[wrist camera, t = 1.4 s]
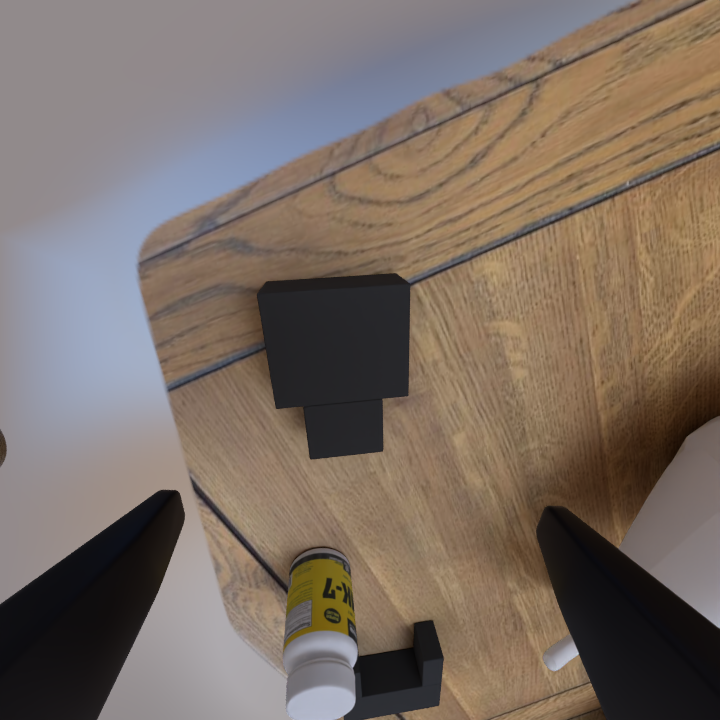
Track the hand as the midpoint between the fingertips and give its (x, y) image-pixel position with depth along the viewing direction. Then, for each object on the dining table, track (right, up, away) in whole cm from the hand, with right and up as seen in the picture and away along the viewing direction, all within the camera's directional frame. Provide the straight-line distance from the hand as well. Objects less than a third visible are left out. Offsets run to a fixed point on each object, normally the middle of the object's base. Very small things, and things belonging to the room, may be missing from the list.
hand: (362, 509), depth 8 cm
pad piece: (-1, +4, +12) cm, 12 cm away
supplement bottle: (-3, -13, +19) cm, 23 cm away
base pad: (+2, -25, +25) cm, 36 cm away
